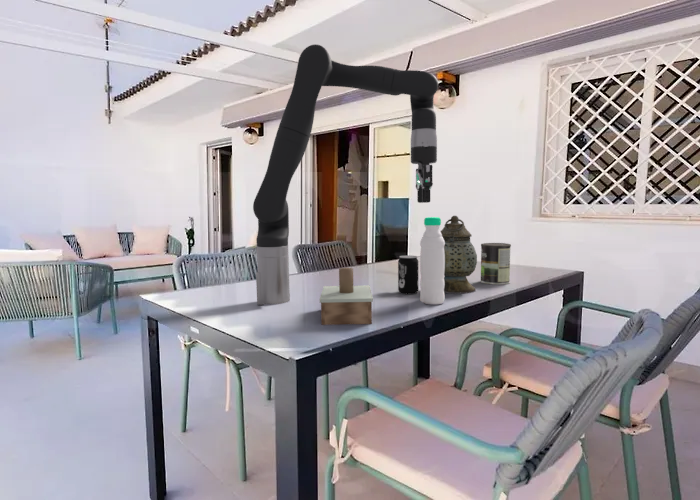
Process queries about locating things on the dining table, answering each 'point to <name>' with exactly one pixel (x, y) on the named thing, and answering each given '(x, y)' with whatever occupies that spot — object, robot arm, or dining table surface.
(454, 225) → the lantern
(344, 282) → the lid
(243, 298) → the dining table surface
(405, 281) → the beverage can
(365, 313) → the box
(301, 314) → the dining table surface
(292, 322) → the dining table surface
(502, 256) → the coffee can
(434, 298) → the water bottle
